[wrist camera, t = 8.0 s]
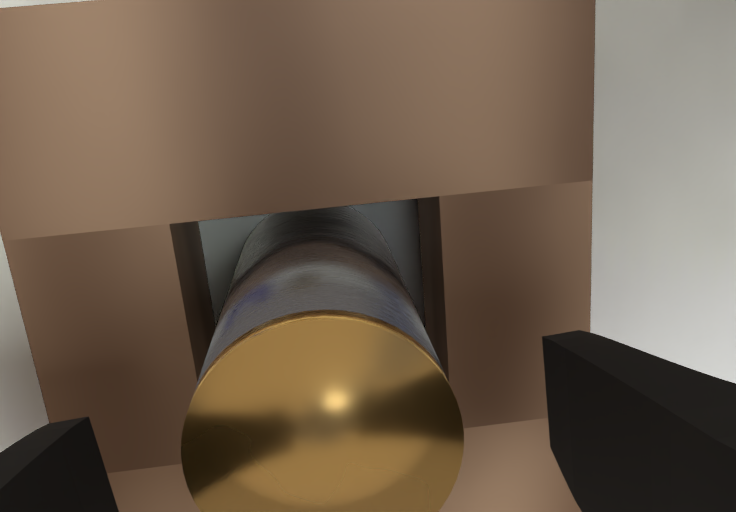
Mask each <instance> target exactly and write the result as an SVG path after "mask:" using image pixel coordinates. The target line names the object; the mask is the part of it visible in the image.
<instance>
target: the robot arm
mask: <svg viewBox="0 0 736 512" xmlns="http://www.w3.org/2000/svg"><path fill="white" fill-rule="evenodd" d="M542 345H543V358H544V371H545V384H546V398H547V411H548V424H549V437H550V448H551V450H552V452H553V454H554V457H555V459H556V461H557V463H558V466H559V468H560V470H561V472H562V474H563V477H564V479H565V481H566V483H567V485H568V487H569V489H570V491H571V493H572V495H573V497H574V500H575V501H576V503H577V505H578V506H579V508H580V509H581V511H582V512H736V384H735V383H732V382H729V381H725V380H722V379H719V378H716V377H713V376H710V375H707V374H704V373H701V372H698V371H695V370H692V369H690V368H687V367H684V366H681V365H678V364H676V363H673V362H670V361H667V360H665V359H662V358H659V357H657V356H654V355H651V354H649V353H646V352H643V351H641V350H638V349H635V348H633V347H630V346H627V345H625V344H622V343H619V342H617V341H614V340H611V339H608V338H605V337H602V336H599V335H596V334H593V333H590V332H586V331H582V330H576V331H571V332H565V333H559V334H554V335H548V336H542ZM0 512H119V510H118V507H117V504H116V501H115V498H114V495H113V491H112V488H111V485H110V482H109V479H108V475H107V472H106V469H105V466H104V463H103V460H102V456H101V453H100V450H99V447H98V444H97V441H96V437H95V434H94V431H93V428H92V425H91V422H90V418H89V416H88V417H82V418H77V419H71V420H65V421H60V422H54V423H49V424H47V425H45V426H43V427H41V428H39V429H37V430H36V431H34V432H32V433H30V434H29V435H27V436H25V437H24V438H22V439H21V440H19V441H17V442H16V443H14V444H13V445H11V446H10V447H8V448H7V449H5V450H4V451H2V452H1V453H0Z"/></svg>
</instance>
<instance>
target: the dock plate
mask: <svg viewBox="0 0 736 512" xmlns="http://www.w3.org/2000/svg"><path fill="white" fill-rule="evenodd" d="M594 54H595V0H95V1H83V2H70V3H58V4H46V5H33V6H21V7H9V8H0V232H1V236H2V240H3V244H4V248H5V251H6V255H7V259H8V263H9V267H10V271H11V275H12V279H13V283H14V287H15V290H16V294H17V298H18V302H19V306H20V310H21V314H22V318H23V322H24V325H25V329H26V333H27V337H28V341H29V345H30V349H31V353H32V357H33V360H34V364H35V368H36V372H37V376H38V380H39V384H40V388H41V392H42V396H43V399H44V403H45V407H46V411H47V415H48V419H49V423H54V422H60V421H65V420H71V419H77V418H82V417H88V416H89V418H90V422H91V425H92V428H93V431H94V434H95V437H96V441H97V444H98V447H99V450H100V453H101V456H102V460H103V463H104V466H105V469H106V472H107V475H108V479H109V482H110V485H111V488H112V491H113V495H114V498H115V501H116V504H117V507H118V510H119V512H201V511H200V510H199V508H198V507H197V505H196V504H195V502H194V500H193V498H192V496H191V494H190V492H189V489H188V487H187V484H186V480H185V477H184V474H183V468H182V461H181V437H182V431H183V425H184V421H185V418H186V415H187V412H188V409H189V406H190V403H191V400H192V397H193V394H194V391H195V388H196V385H197V382H198V379H199V376H200V373H201V370H202V367H203V364H204V361H205V358H206V356H207V353H208V350H209V347H210V344H211V341H212V338H213V335H214V332H215V329H216V328H215V322H214V316H213V310H212V304H211V298H210V292H209V286H208V280H207V274H206V268H205V261H204V255H203V249H202V243H201V237H200V231H199V225H198V221H202V220H212V219H222V218H232V217H241V216H251V215H261V214H270V213H280V212H290V211H300V210H309V209H319V208H329V207H339V206H348V205H358V204H368V203H378V202H387V201H397V200H407V199H417V198H418V214H419V230H420V246H421V261H422V277H423V293H424V309H425V324H426V333H427V335H428V337H429V339H430V342H431V344H432V346H433V348H434V351H435V353H436V355H437V357H438V359H439V362H440V364H441V366H442V368H443V371H444V373H445V375H446V377H447V380H448V382H449V384H450V386H451V389H452V391H453V393H454V395H455V398H456V400H457V403H458V406H459V409H460V413H461V416H462V423H463V429H464V450H463V457H462V463H461V467H460V470H459V474H458V477H457V480H456V482H455V484H454V486H453V489H452V491H451V493H450V495H449V496H448V498H447V500H446V501H445V503H444V504H443V506H442V508H441V509H440V510H439V511H438V512H582V511H581V509H580V508H579V506H578V505H577V503H576V501H575V500H574V497H573V495H572V493H571V491H570V489H569V487H568V485H567V483H566V481H565V479H564V477H563V474H562V472H561V470H560V468H559V466H558V463H557V461H556V459H555V457H554V454H553V452H552V450H551V448H550V437H549V424H548V411H547V398H546V384H545V371H544V358H543V345H542V336H548V335H554V334H559V333H565V332H571V331H576V330H582V331H586V332H590V305H591V242H592V179H593V116H594Z"/></svg>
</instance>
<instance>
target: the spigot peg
mask: <svg viewBox="0 0 736 512" xmlns="http://www.w3.org/2000/svg"><path fill="white" fill-rule="evenodd" d="M463 450H464V429H463V423H462V416H461V413H460V409H459V406H458V403H457V400H456V398H455V395H454V393H453V391H452V389H451V386H450V384H449V382H448V380H447V377H446V375H445V373H444V371H443V368H442V366H441V364H440V362H439V359H438V357H437V355H436V353H435V351H434V348H433V346H432V344H431V342H430V339H429V337H428V335H427V333H426V330H425V328H424V326H423V324H422V321H421V319H420V317H419V315H418V312H417V310H416V308H415V306H414V304H413V301H412V299H411V297H410V295H409V292H408V290H407V288H406V286H405V283H404V281H403V279H402V277H401V274H400V272H399V270H398V268H397V265H396V263H395V261H394V259H393V256H392V254H391V252H390V250H389V248H388V245H387V243H386V241H385V239H384V237H383V236H382V234H381V233H380V231H379V230H378V229H377V228H376V227H375V225H374V224H373V223H372V222H371V221H370V220H369V219H367V218H366V217H365V216H364V215H362V214H361V213H359V212H358V211H356V210H354V209H352V208H350V207H348V206H339V207H329V208H319V209H309V210H300V211H290V212H280V213H271V214H270V215H268V216H267V217H266V218H265V219H263V220H262V221H261V222H260V223H259V224H258V225H257V226H256V228H255V229H254V230H253V231H252V233H251V234H250V236H249V237H248V239H247V241H246V243H245V245H244V247H243V249H242V252H241V255H240V258H239V261H238V264H237V267H236V270H235V273H234V276H233V279H232V282H231V285H230V288H229V291H228V293H227V296H226V299H225V302H224V305H223V308H222V311H221V314H220V317H219V320H218V323H217V326H216V329H215V332H214V335H213V338H212V341H211V344H210V347H209V350H208V353H207V356H206V358H205V361H204V364H203V367H202V370H201V373H200V376H199V379H198V382H197V385H196V388H195V391H194V394H193V397H192V400H191V403H190V406H189V409H188V412H187V415H186V418H185V421H184V425H183V431H182V437H181V461H182V468H183V474H184V477H185V480H186V484H187V487H188V489H189V492H190V494H191V496H192V498H193V500H194V502H195V504H196V505H197V507H198V508H199V510H200V511H201V512H438V511H439V510H440V509H441V508H442V506H443V504H444V503H445V501H446V500H447V498H448V496H449V495H450V493H451V491H452V489H453V486H454V484H455V482H456V480H457V477H458V474H459V470H460V467H461V463H462V457H463Z"/></svg>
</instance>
